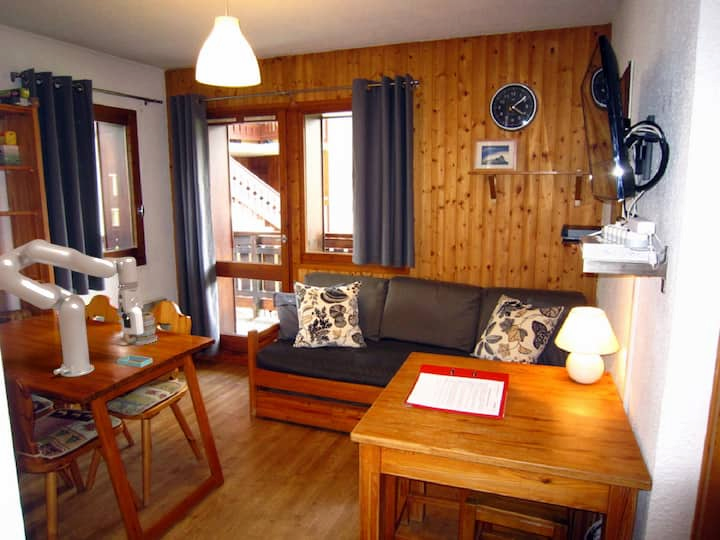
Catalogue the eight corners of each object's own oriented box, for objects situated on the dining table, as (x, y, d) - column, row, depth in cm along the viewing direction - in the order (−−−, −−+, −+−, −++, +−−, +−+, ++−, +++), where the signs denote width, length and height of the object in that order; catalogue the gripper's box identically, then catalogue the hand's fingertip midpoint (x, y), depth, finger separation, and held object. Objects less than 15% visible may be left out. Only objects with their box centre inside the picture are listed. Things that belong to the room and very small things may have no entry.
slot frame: (141, 367, 223) (140, 363, 222) (117, 364, 227) (117, 359, 227) (152, 362, 229) (152, 358, 229) (129, 359, 233) (129, 354, 233)
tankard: (145, 336, 268) (143, 308, 266) (162, 339, 262) (160, 311, 260) (111, 347, 251) (109, 317, 249) (128, 350, 245) (126, 320, 243)
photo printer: (120, 333, 225) (117, 306, 223) (128, 330, 229) (126, 303, 227) (137, 335, 221) (134, 308, 219) (145, 333, 225) (142, 305, 223)
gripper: (119, 290, 213) (123, 332, 216) (149, 282, 228) (152, 322, 231) (106, 288, 215) (110, 330, 218) (136, 281, 231) (139, 320, 234)
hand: (132, 325), depth 225 cm, fingers closed on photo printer, 4 cm apart
